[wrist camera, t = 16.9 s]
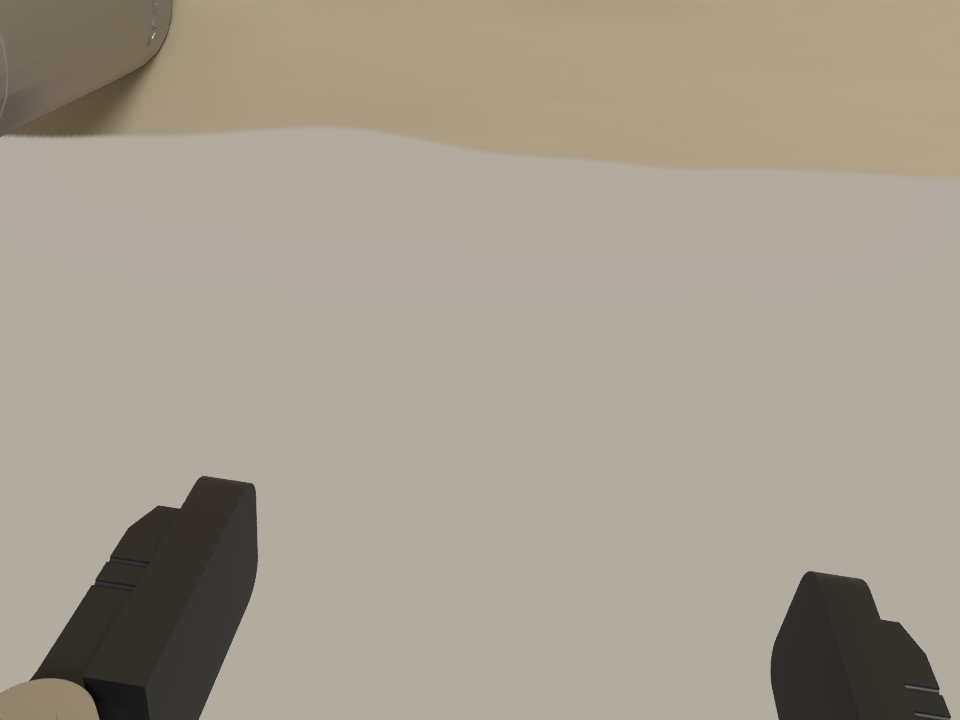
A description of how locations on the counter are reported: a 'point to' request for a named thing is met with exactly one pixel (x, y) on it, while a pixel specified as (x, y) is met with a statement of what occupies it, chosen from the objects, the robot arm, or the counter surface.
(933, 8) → the counter surface
